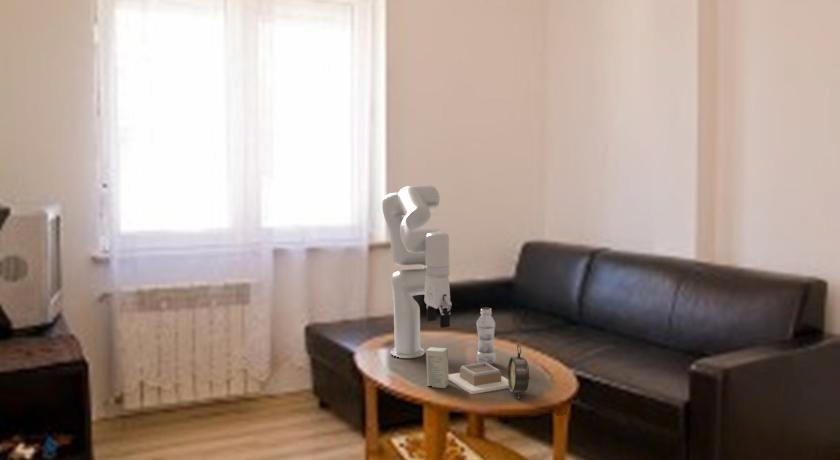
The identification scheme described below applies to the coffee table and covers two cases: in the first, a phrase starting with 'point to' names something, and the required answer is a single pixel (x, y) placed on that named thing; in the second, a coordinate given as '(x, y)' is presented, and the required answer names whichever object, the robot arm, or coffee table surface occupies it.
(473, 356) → the coffee table surface
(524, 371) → the alarm clock
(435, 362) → the skincare box
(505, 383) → the display base
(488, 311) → the plastic bottle
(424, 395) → the coffee table surface
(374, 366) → the coffee table surface
